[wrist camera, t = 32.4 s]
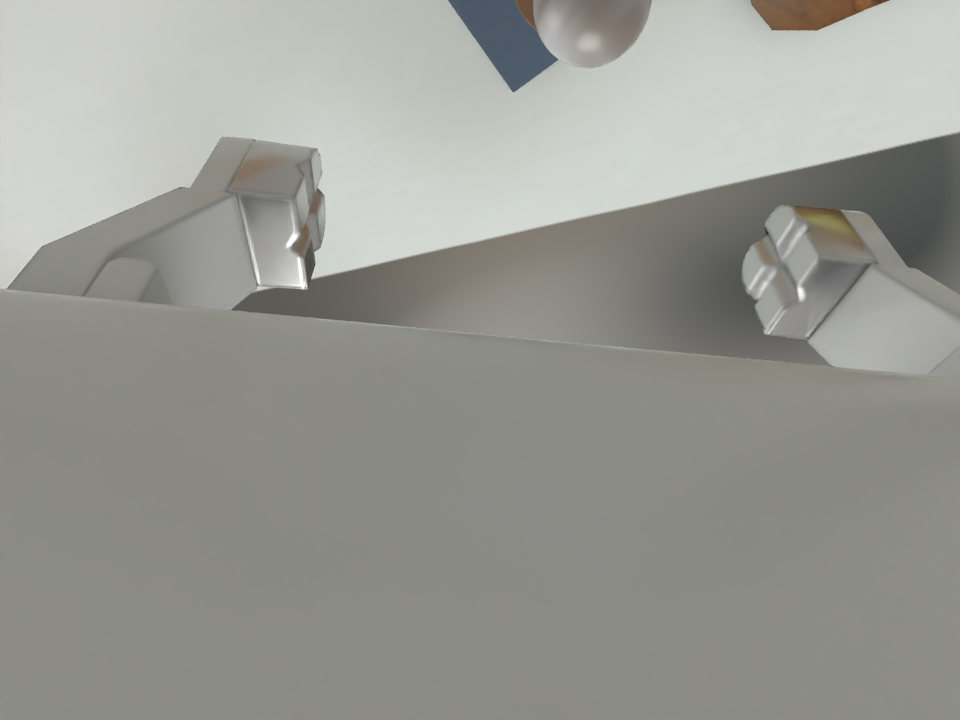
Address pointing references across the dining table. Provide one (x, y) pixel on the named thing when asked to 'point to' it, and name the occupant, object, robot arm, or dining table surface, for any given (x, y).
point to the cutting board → (808, 12)
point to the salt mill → (586, 27)
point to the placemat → (505, 39)
